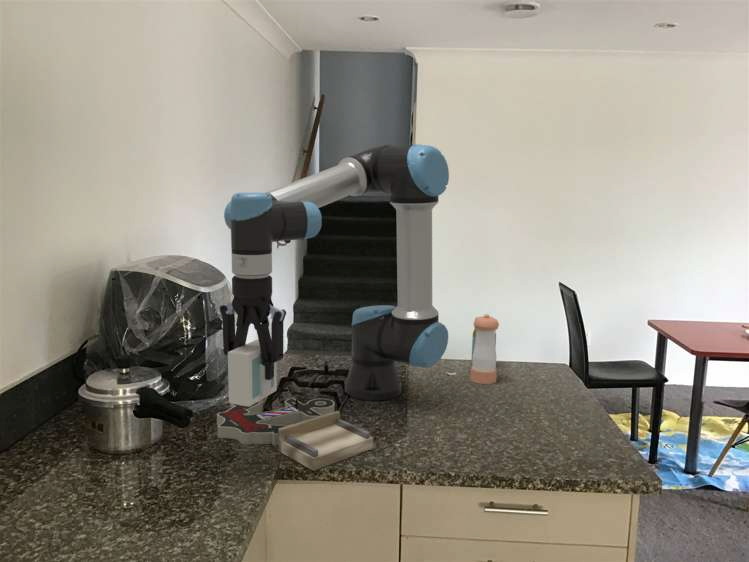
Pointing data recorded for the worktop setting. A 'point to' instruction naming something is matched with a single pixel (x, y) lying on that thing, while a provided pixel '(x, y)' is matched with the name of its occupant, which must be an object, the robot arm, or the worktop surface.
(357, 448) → the tray
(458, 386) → the worktop surface
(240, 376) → the white box
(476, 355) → the salt shaker
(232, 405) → the decorative sign
